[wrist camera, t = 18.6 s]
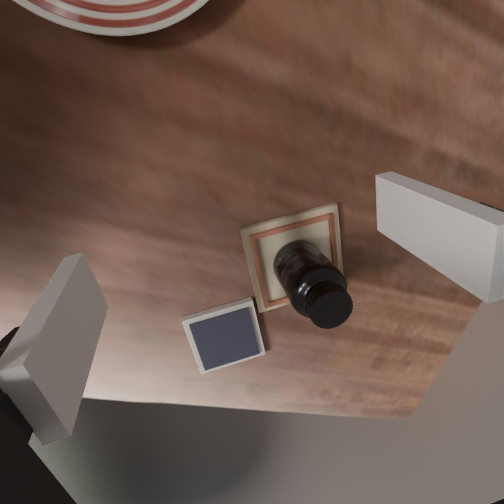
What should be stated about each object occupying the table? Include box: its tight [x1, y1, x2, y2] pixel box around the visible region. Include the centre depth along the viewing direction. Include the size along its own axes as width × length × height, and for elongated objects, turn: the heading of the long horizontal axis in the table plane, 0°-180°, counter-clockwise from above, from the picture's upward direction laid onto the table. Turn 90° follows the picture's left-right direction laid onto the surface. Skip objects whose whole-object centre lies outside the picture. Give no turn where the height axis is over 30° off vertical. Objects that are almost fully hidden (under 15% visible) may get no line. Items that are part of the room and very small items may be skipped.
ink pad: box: [181, 297, 265, 374], centre depth 50 cm, size 10×10×1 cm
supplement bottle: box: [273, 240, 353, 329], centre depth 42 cm, size 7×7×12 cm
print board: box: [239, 202, 344, 313], centre depth 47 cm, size 13×13×1 cm
